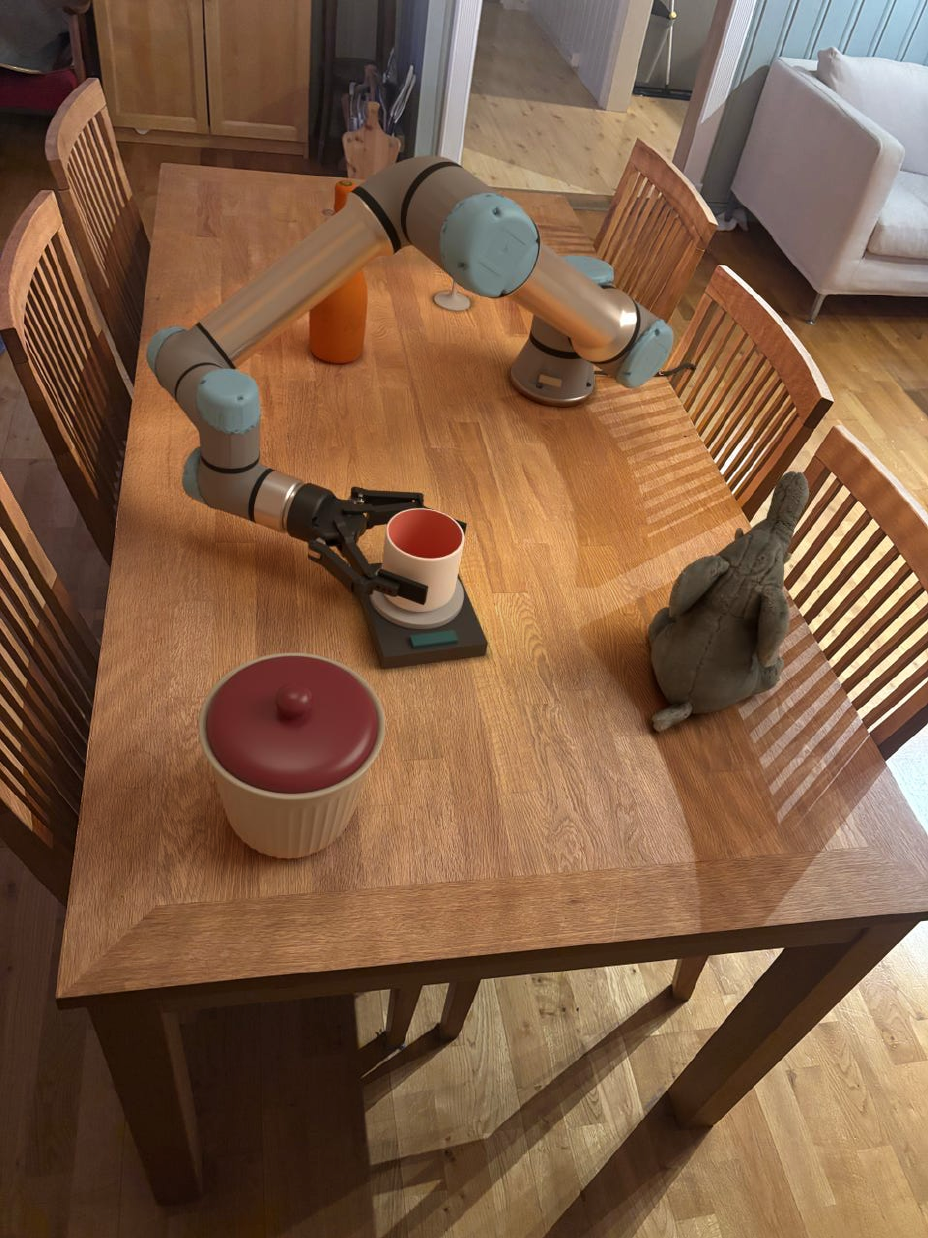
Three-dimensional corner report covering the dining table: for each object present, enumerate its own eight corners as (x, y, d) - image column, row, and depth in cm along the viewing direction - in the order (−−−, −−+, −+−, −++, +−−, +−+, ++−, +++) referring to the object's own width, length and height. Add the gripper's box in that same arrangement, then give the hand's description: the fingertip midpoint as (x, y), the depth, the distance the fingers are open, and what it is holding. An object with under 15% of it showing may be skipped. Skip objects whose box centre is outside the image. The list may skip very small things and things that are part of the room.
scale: (448, 567, 138) (452, 549, 136) (485, 655, 127) (489, 638, 125) (352, 577, 134) (354, 559, 132) (382, 669, 123) (384, 651, 121)
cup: (445, 624, 126) (455, 568, 118) (370, 605, 126) (376, 548, 119) (460, 574, 133) (471, 518, 126) (389, 556, 133) (396, 500, 126)
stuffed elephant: (733, 614, 140) (807, 463, 121) (790, 729, 126) (884, 580, 107) (608, 617, 136) (664, 461, 117) (653, 737, 122) (725, 582, 103)
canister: (405, 813, 109) (428, 694, 94) (285, 921, 98) (289, 806, 83) (294, 720, 116) (299, 595, 101) (170, 811, 105) (154, 686, 90)
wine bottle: (299, 357, 171) (304, 185, 149) (319, 331, 177) (326, 164, 156) (352, 372, 170) (365, 201, 149) (370, 345, 177) (384, 179, 155)
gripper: (337, 480, 139) (474, 529, 136) (249, 586, 122) (405, 646, 118) (340, 436, 133) (483, 487, 130) (249, 541, 116) (411, 603, 113)
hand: (446, 563), depth 124 cm, fingers open, 13 cm apart
